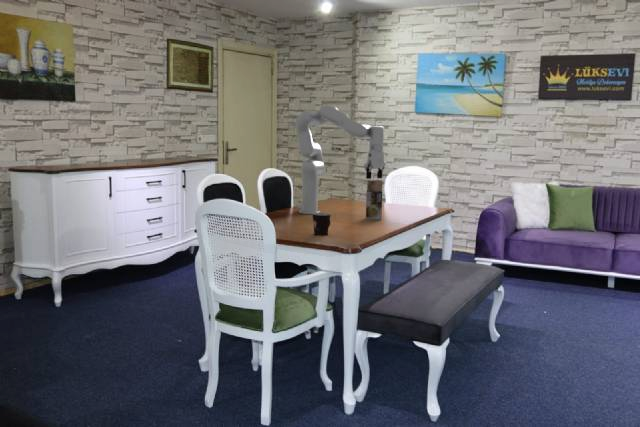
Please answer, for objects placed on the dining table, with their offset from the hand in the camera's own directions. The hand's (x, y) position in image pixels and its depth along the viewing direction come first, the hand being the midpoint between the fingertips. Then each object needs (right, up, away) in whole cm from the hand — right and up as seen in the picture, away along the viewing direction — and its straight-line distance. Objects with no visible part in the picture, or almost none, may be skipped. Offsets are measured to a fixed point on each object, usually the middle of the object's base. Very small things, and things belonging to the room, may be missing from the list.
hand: (374, 178), depth 337 cm
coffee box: (0, -23, +3) cm, 23 cm away
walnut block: (0, -7, +1) cm, 7 cm away
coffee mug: (-30, -30, -52) cm, 68 cm away
